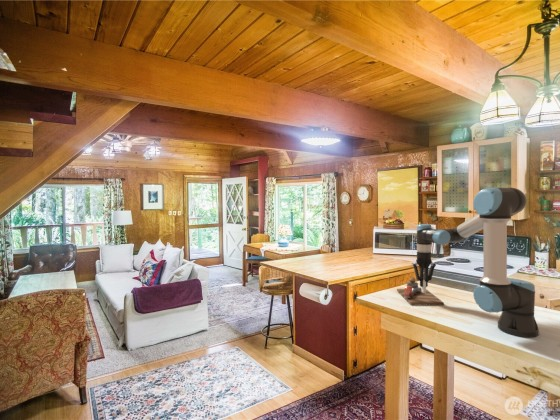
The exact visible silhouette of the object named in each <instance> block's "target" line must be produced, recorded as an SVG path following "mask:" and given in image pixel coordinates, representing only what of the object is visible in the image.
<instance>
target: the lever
mask: <svg viewBox="0 0 560 420" xmlns="http://www.w3.org/2000/svg"><path fill="white" fill-rule="evenodd" d="M404 289H405V296H406V297H407V298H411V297H412V296H413V295H415V294H416V293H420V292H421V289H422V287H420V286H418V287H412V286H407V285H405V286H404Z"/></svg>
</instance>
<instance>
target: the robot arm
mask: <svg viewBox="0 0 560 420" xmlns="http://www.w3.org/2000/svg"><path fill="white" fill-rule="evenodd" d="M472 203H473V204H472V206H473V209H474V210H475V212H476V213H477V214H476V215H473V216H472V217H470V218H469V219H467V220H465V221H464V222H462V223H461V224H458V225H457V226H455V227H454V228H441V229H437V228H432V224H431V223H430V224H428V223H420V224H417V226H416V259H415V262H413V263H411V265H412V267H413V270H414V274H415V280H418V281H419V287H420V288H421V292H423V293H426V289H427V288H428V284H429V283H428V282H429V281H432V278H433V275H434V270H435V268H436V266H437V264H436V263H435V262H433V260H432V243H433V244H437V245H447V244H449V243H462V242H466V241H468V240H469V239H470V237H471V236H473V235H475V234H476V233H478V232H480V231H483V233H482V234H483V241H482V242H483V245H482V246H483V247H482V248H483V254H482V255H483V276H482V277H480V278H479V285H478V286H476V287H475V288H474V290H473V293H472V294H473V299H474V302H475V304H477V306H478V308H480V309H481V310H482V311H483V312H486V313H500V312H501V314H500V316H499V318H498V319H497V328H498V329H499V330H500V331H502V332H503V333H506V334H508V335H511V336H517V337H520V338H521V337H522V338H535V337H538V336H539V334H540V333H539V332H540V331H539V327H538V323H537V320H536V317H535V305H536V304H535V303H536V301H535V300H536V299H535V298H536V286H535V284H534V283H533V282H530V281H527V280H525V279H523V280H522V279H517V278H514V277H513V278H511V277H508V262H507V261H508V239H507V238H508V237H507V235H508V234H507V233H508V225H507V224H508V222H509V221H510V220H512V217H513V216H515V215H517V214H520V212H522V211H523V210H525V207H526V205H527V197H526V194H525V193H524V192H523V191H522V190H520V189H518V188H515V187H486V188H482V189H480V190H479V191H478V192H477V193H476V194H475V196H474V198H473V202H472ZM418 267H419V268H418Z"/></svg>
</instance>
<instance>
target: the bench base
mask: <svg viewBox="0 0 560 420" xmlns="http://www.w3.org/2000/svg"><path fill="white" fill-rule="evenodd" d="M408 280H409V281H407V282H406V286H412V287H419V283H418V282H417V281H416V280H417V279H416V277H414V276H411V277H409V279H408ZM396 292H397V293H398V294H399V295H400V296H401V297H402V298H403V300H405V301H406V303H408V304H409V305H410V306H444V305H445V303H444V302H443V301H442V300H441V299H440V298H439V297H437V296H436V295H434V294H433V292H431V291H429V290H428V289H427V288H426V293H423V292H420V293H416V294H415V295H413V296H412V297H411V298H407V297H406V296H405V288H397V289H396Z"/></svg>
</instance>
